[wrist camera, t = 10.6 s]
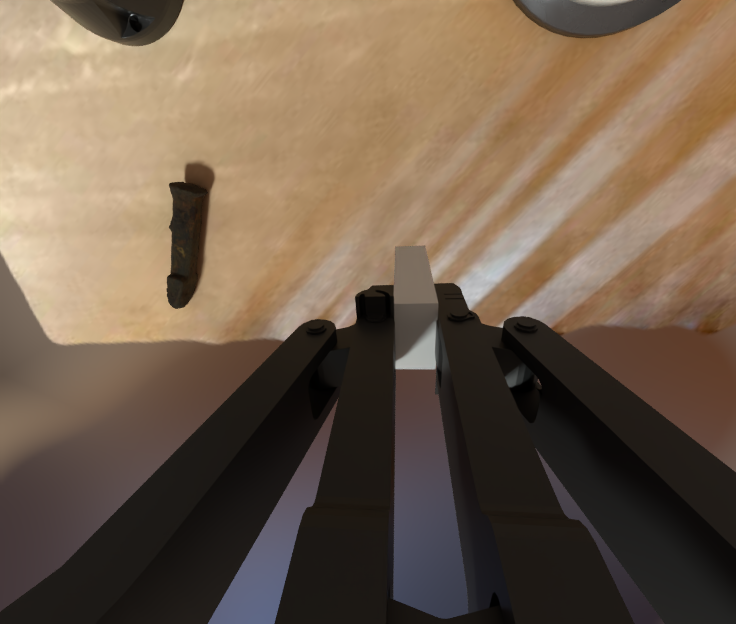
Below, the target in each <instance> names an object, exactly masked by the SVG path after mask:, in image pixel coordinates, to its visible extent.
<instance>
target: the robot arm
mask: <svg viewBox="0 0 736 624" xmlns="http://www.w3.org/2000/svg"><path fill="white" fill-rule="evenodd" d="M51 1H52V2H53V3H54V4H55V5H57V6H58V7H59V8H60V9H61V10H63V11H64V12H65V13H66V14H68V15H69V16H70V17H71V18H72V19H74V20H75V21H76V22H77V23H79V24H80V25H81V26H83V27H84V28H86V29H87V30H89V31H91V32H92V33H94V34H96V35H98V36H100V37H103V38H105V39H108V40H111V41H114V42H117V43H120V44H123V45H128V46H143V45H147V44H150V43H153V42H155V41H157V40H159V39H160V38H161V37H163V36H164V35H165V34H166V33H167V32H168V31H169V30H170V28H171V27H172V26H173V24H174V22H175V20H176V18H177V16H178V14H179V12H180V8H181V5H182V1H183V0H51ZM355 301H356V313H357V320H356V324H354V325H352V326H350V327H346V328H342V329H336V327H335V324H334V323H332V322H331V321H328V320H320V319H315V320H311V321H308V322H306V323H303V324H302V325H301V326H299V327H298V328H297V329H296V330H295V331H294V332H293V333H292V334H291V335H290V336H289V337H288V338H287V339H286V340H285V341H284V342H283V343H282V344H281V345H280V346H279V347H278V349H276V350H275V351H274V352H273V353H272V355H271V356H269V358H267V359H266V361H265V362H264V363H263V364H262V365H261V366H260V367H259V368H258V369H257V370H256V371H255V372H254V373H253V374H252V375H251V376H250V377H249V378H248V379H247V380H246V381H245V382H244V383H243V384H242V385H241V386H240V387H239V388H238V389H237V390H236V391H235V392H234V393H233V394H232V395H231V396H230V397H229V398H228V399H227V400H226V401H225V402H224V403H223V404H222V405H221V406H220V407H219V408H218V409H217V410H216V411H215V412H214V413H213V414H212V415H211V416H210V417H209V418H208V419H207V420H206V421H205V422H204V423H203V424H202V425H201V426H200V427H199V428H198V429H197V430H196V431H195V432H194V433H193V434H192V435H191V436H190V437H189V438H188V439H187V440H186V441H185V442H184V443H183V444H182V445H181V447H179V448H178V449H177V450H176V451H175V452H174V453H173V455H171V457H170V458H169V459H168V460H167V461H166V462H165V463H164V464H163V465H162V466H161V467H160V468H159V469H158V470H157V471H156V472H155V473H154V474H153V475H152V476H151V477H150V478H149V479H148V480H147V481H146V482H145V483H144V484H143V485H142V486H141V487H140V488H139V489H138V490H137V491H136V492H135V493H134V494H133V495H132V496H131V497H130V498H129V499H128V500H127V501H126V502H125V503H124V504H123V505H122V506H121V507H120V508H119V509H118V510H117V511H116V512H115V513H114V514H113V515H112V516H111V517H110V518H109V519H108V520H107V521H106V522H105V523H104V524H103V525H102V526H101V527H100V528H99V529H98V530H97V531H96V532H95V533H94V534H93V535H92V536H91V537H90V538H89V539H88V540H87V541H86V542H85V544H83V546H82V547H81V548H80V549H79V550H77V552H76V553H75V554H74V555H73V556H72V557H71V558H70V559H69V560H68V561H67V562H66V563H65V564H64V565H63V566H62V567H60V568H59V569H58V570H56V571H55V572H54V573H52V574H51V575H50V576H48V577H47V578H45V579H44V580H43V581H41V582H40V583H39V584H37V585H36V586H35V587H33V588H32V589H30V590H29V591H28V592H26V593H25V594H24V595H22V596H21V597H20V598H19V599H17V600H16V601H14V602H13V603H12V604H10V605H9V606H7V607H6V608H5V609H3V610H2V611H1V612H0V624H208V622H209V620H210V619H211V617H212V615H213V613H214V611H215V610H216V608H217V606H218V605H219V603H220V601H221V600H222V598H223V596H224V594H225V593H226V591H227V589H228V587H229V586H230V584H231V582H232V581H233V579H234V577H235V575H236V574H237V572H238V570H239V568H240V567H241V565H242V563H243V561H244V560H245V558H246V556H247V555H248V553H249V551H250V549H251V548H252V546H253V544H254V543H255V541H256V539H257V537H258V536H259V534H260V532H261V530H262V529H263V527H264V525H265V524H266V522H267V520H268V518H269V517H270V514H271V513H272V511H273V510H274V508H275V506H276V505H277V503H278V501H279V499H280V498H281V496H282V494H283V492H284V491H285V489H286V487H287V486H288V484H289V482H290V480H291V479H292V477H293V475H294V473H295V472H296V470H297V468H298V466H299V465H300V463H301V461H302V460H303V458H304V456H305V454H306V452H307V451H308V449H309V448H310V446H311V444H312V442H313V441H314V439H315V437H316V436H317V434H318V432H319V430H320V428H321V427H322V425H323V423H324V422H325V420H326V418H327V416H328V415H329V413H330V411H331V410H332V408H333V406H334V404H335V403H336V401H337V399H338V398H339V399H338V403H337V407H336V412H335V416H334V420H333V425H332V429H331V434H330V438H329V443H328V447H327V451H326V456H325V460H324V464H323V469H322V473H321V477H320V482H319V486H318V491H317V495H316V499H315V503H314V504H313V506H312V507H307V508H306V510H305V512H304V514H303V516H302V520H301V523H300V526H299V530H298V534H297V538H296V541H295V545H294V549H293V553H292V557H291V561H290V565H289V569H288V574H287V577H286V581H285V585H284V589H283V593H282V597H281V601H280V604H279V608H278V613H277V616H276V620H275V624H634V622H633V620H632V618H631V616H630V614H629V611H628V609H627V607H626V605H625V603H624V601H623V599H622V597H621V595H620V593H619V591H618V589H617V587H616V584H615V582H614V580H613V578H612V576H611V574H610V572H609V570H608V568H607V566H606V564H605V562H604V560H603V557H602V555H601V553H600V551H599V549H598V547H597V545H596V543H595V541H594V539H593V538H592V536H591V534H590V533H589V531H588V529H587V528H586V527H585V526H584V525H583V524H582V523H581V522H580V521H579V520H574V519H569V518H568V517H567V516H566V515H565V514H564V512H563V510H562V509H561V506H560V504H559V502H558V500H557V497H556V495H555V493H554V490H553V488H552V486H551V483H550V481H549V479H548V477H547V474H546V472H545V470H544V467H543V465H542V462H541V460H540V458H539V456H538V453H537V451H536V449H537V450H538V452H539V453H540V454H541V456H542V457H543V459H544V460H545V461H546V463H547V464H548V465H549V467H550V468H551V469H552V471H553V472H554V474H555V475H556V476H557V478H558V479H559V480H560V482H561V483H562V484H563V486H564V487H565V489H566V490H567V491H568V493H569V494H570V495H571V497H572V498H573V499H574V501H575V502H576V503H577V505H578V506H579V507H580V509H581V510H582V512H583V513H584V514H585V516H586V517H587V518H588V520H589V521H590V523H591V524H592V525H593V526H594V528H595V529H596V531H597V532H598V533H599V535H600V536H601V537H602V539H603V540H604V541H605V543H606V544H607V546H608V547H609V548H610V550H611V551H612V552H613V554H614V555H615V557H616V558H617V559H618V561H619V562H620V563H621V565H622V566H623V567H624V569H625V570H626V571H627V573H628V574H629V575H630V577H631V578H632V579H633V581H634V582H635V584H636V585H637V586H638V588H639V589H640V591H641V592H642V593H643V595H644V596H645V597H646V599H647V600H648V601H649V603H650V604H651V605H652V607H653V608H654V610H655V611H656V612H657V614H658V615H659V616H660V618H661V619H662V620H663V622H664V623H665V624H736V472H734V471H733V470H732V469H731V468H729V467H728V466H727V465H725V464H724V463H723V462H722V461H720V460H719V459H718V458H717V457H715V456H714V455H713V454H711V453H710V452H709V451H708V450H706V449H705V448H704V447H702V446H701V445H700V444H699V443H697V442H696V441H695V440H693V439H692V438H691V437H690V436H688V435H687V434H686V433H684V432H683V431H682V430H681V429H679V428H678V427H677V426H675V425H674V424H673V423H671V422H670V421H669V420H668V419H666V418H665V417H664V416H663V415H661V414H660V413H659V412H657V411H656V410H655V409H653V408H652V407H651V406H650V405H648V404H647V403H646V402H644V401H643V400H642V399H641V398H639V397H638V396H637V395H636V394H634V393H633V392H632V391H630V390H629V389H628V388H627V387H625V386H624V385H622V384H621V383H620V382H619V381H618V380H616V379H615V378H614V377H612V376H611V375H610V374H609V373H607V372H606V371H605V370H603V369H602V368H601V367H600V366H598V365H597V364H596V363H594V362H593V361H592V360H590V359H589V358H588V357H587V356H585V355H584V354H583V353H582V352H580V351H579V350H578V349H576V348H575V347H574V346H572V345H571V344H570V343H568V342H567V341H566V340H565V339H563V338H562V337H561V336H560V335H558V334H557V333H556V332H555V331H553V330H552V329H551V328H549V327H548V326H547V325H546V324H544V323H542V322H540V321H539V320H536V319H532V318H530V317H523V316H521V317H512V318H509V319H507V320H506V321H504V325H503V328H500V327H493V326H488V325H485V324H482V323H481V321H480V319H479V317H478V316H477V314H476V313H474V312H472V311H470V310H469V309H468V306H467V304H466V301H465V299H464V296H463V295H462V291H461V289H460V288H459V287H458V286H457V285H455V284H454V283H440V284H434V282H433V278H432V274H431V269H430V265H429V261H428V256H427V252H426V248H425V246H398V247H395V270H394V285H378V286H371V287H370V288H369V289H368V290H364V291H361V292H360V293H358V294H357V295H356V296H355ZM435 364H436V365H437V369H436V388H435V394H439V400H440V408H441V415H442V422H443V428H444V435H445V442H446V449H447V455H448V462H449V468H450V476H451V483H452V488H453V496H454V503H455V510H456V516H457V523H458V530H459V537H460V544H461V551H462V557H463V564H464V571H465V578H466V585H467V595H468V614H465V615H461V616H457V617H453V618H450V619H441V618H438V617H435V616H433V615H430V614H427V613H425V612H423V611H420V610H418V609H415V608H413V607H410V606H408V605H406V604H403V603H401V602H398V601H395V600H393V568H394V479H395V478H394V476H395V388H396V373H395V372H396V371H395V369H435ZM538 379H539V381H540V383H541V385H540V384H539V383H538V382H537V381H538ZM535 448H536V449H535Z"/></svg>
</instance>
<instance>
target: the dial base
mask: <svg viewBox="0 0 736 624" xmlns="http://www.w3.org/2000/svg"><path fill="white" fill-rule="evenodd" d="M513 1H514V3H515V4H516V6H517V7H518V8H519V9H520V10H521V11H522V12H523V13H524V14H525V15H526V16H527V17H528V18H529V19H531V20H532V21H533V22H535V23H536V24H537V25H539V26H541V27H543V28H545V29H547V30H549V31H551V32H553V33H556V34H560V35H563V36H567V37H575V38H597V37H602V36H607V35H612V34H616V33H619V32H622V31H625V30H628V29H631V28H633V27H635V26H637V25H639V24H641V23H643V22H645V21H647V20H649V19H651V18H653V17H655V16H657V15H659V14H661V13H662V12H664V11H666V10H667V9H669V8H671V7H672V6H674V5H675V4H677V3H678V2H679V1H681V0H634V1H631V2H627V3H624V4H621V5H614V6H607V7H594V6H587V5H581V4H577V3H575V2H572V1H570V0H513Z"/></svg>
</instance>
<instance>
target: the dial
mask: <svg viewBox="0 0 736 624" xmlns="http://www.w3.org/2000/svg"><path fill="white" fill-rule="evenodd" d="M570 1H572V2H575V3H577V4H581V5H587V6H594V7H607V6H614V5H621V4H624V3H627V2H631V1H634V0H570Z"/></svg>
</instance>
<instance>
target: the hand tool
mask: <svg viewBox="0 0 736 624" xmlns="http://www.w3.org/2000/svg"><path fill="white" fill-rule="evenodd" d="M169 187H170V191H171V194H172V197H173V217H172V221H171V223H170V224H171V225H170V226H169V228H170V230H171V231H172V247H171V274H170V275H169V276H168V277H167V292H168V293H167V297H168V302H169V304H170V305H171V306H172V307H173V308H176V309H178V308H183V307H185V305H187V304H188V302H189V301H190V299H191V297H192V295H193V292H194V290H195V285H196V282H197V279H198V274H197V273H196V263H197V254H198V250H199V246H198V244H199V235H200V227H201V212H202V201H203V197H204V195H206V194H207V193H208V192H207V190H206V189H204V188H201V187H199V186H197V185H194V184H190V183H184V182H174V183H170V184H169Z"/></svg>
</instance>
